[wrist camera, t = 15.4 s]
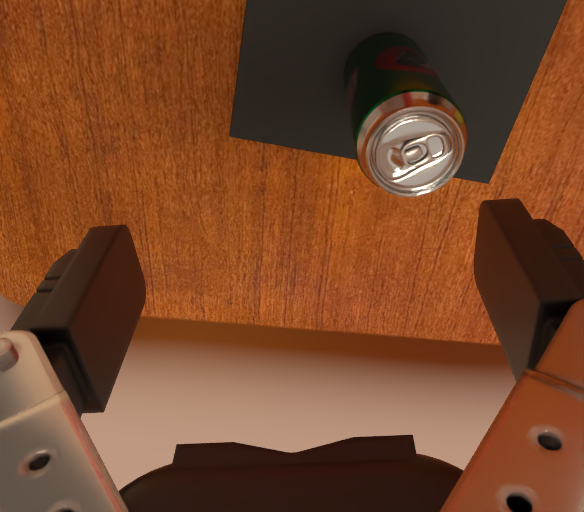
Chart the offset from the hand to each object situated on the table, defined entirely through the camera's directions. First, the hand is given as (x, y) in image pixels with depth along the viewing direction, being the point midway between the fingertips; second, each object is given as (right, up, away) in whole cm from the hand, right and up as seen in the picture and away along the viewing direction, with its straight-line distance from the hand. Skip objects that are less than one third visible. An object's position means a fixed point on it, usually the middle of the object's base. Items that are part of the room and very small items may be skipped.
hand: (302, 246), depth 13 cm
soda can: (+5, +11, +22) cm, 25 cm away
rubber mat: (+6, +11, +22) cm, 25 cm away
